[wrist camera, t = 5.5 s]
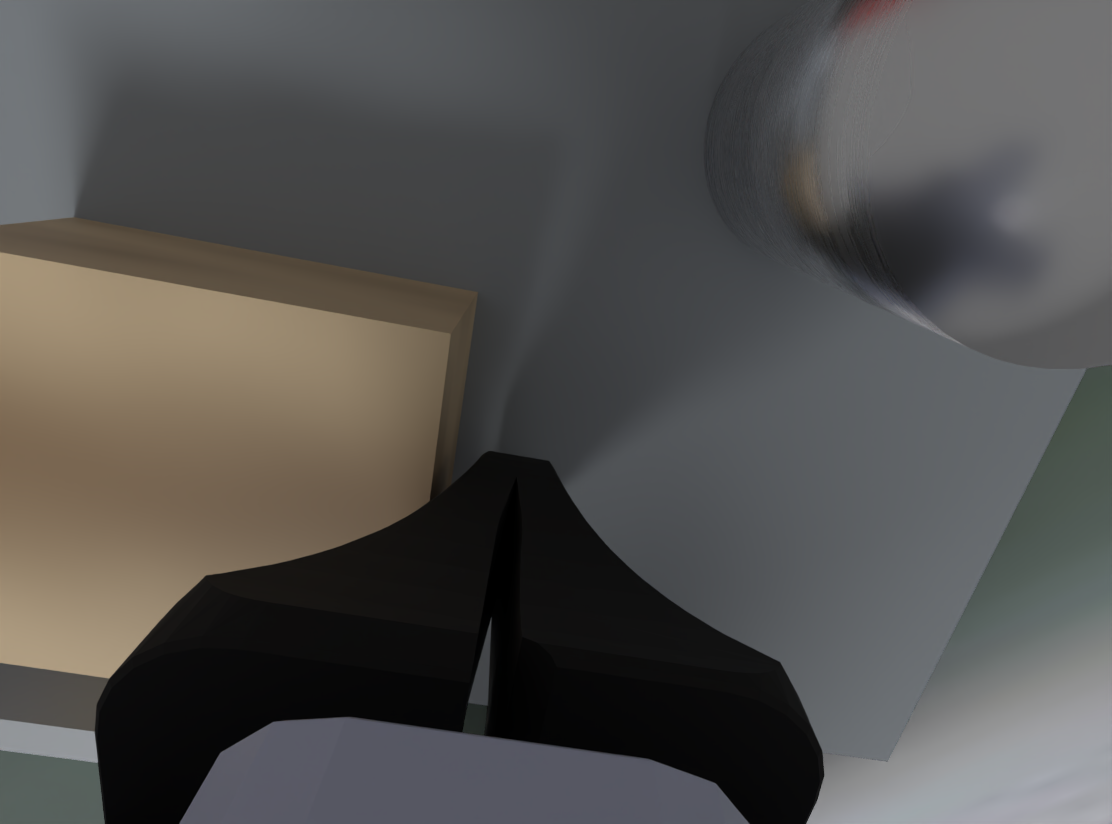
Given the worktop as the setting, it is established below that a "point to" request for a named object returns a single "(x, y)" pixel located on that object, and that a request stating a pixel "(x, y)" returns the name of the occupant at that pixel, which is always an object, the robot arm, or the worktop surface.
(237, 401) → the oak tile
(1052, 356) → the metal peg
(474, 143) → the parts board
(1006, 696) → the worktop surface
